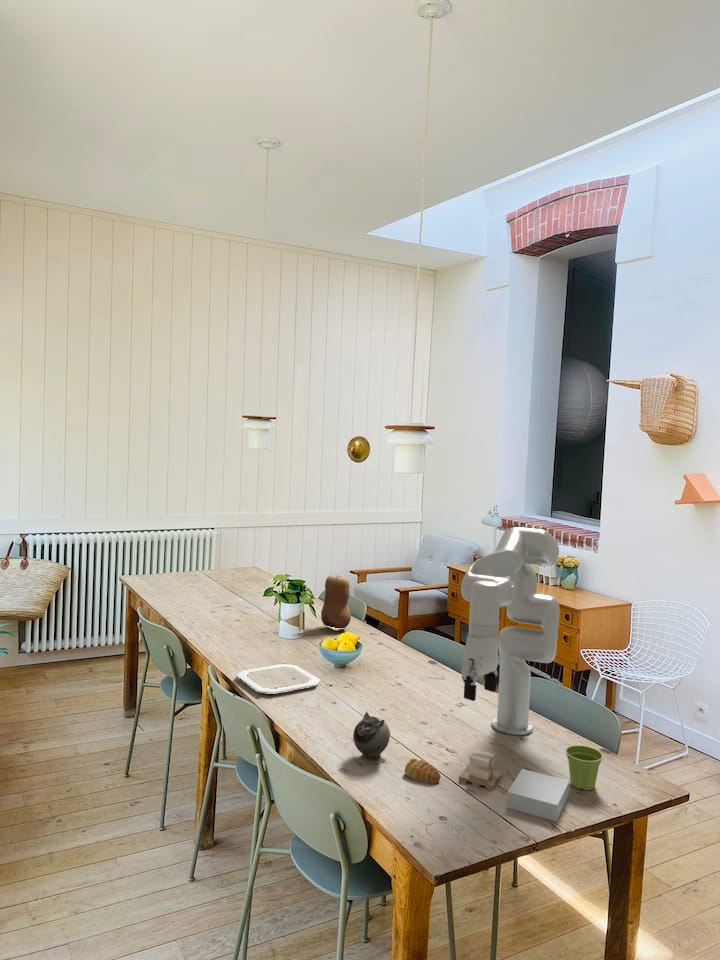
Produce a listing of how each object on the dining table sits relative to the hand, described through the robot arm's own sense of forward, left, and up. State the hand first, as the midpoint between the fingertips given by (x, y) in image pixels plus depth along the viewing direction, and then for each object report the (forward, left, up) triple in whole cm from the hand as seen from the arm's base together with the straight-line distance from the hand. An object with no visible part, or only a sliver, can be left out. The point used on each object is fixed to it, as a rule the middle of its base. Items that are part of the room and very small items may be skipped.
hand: (480, 694), depth 184 cm
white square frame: (-34, -84, -24) cm, 94 cm away
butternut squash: (-106, -101, -24) cm, 148 cm away
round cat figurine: (+2, -29, -24) cm, 38 cm away
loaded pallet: (-3, +1, -23) cm, 24 cm away
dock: (+1, +17, -23) cm, 29 cm away
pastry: (+4, -13, -24) cm, 28 cm away
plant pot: (-14, +25, -24) cm, 37 cm away
